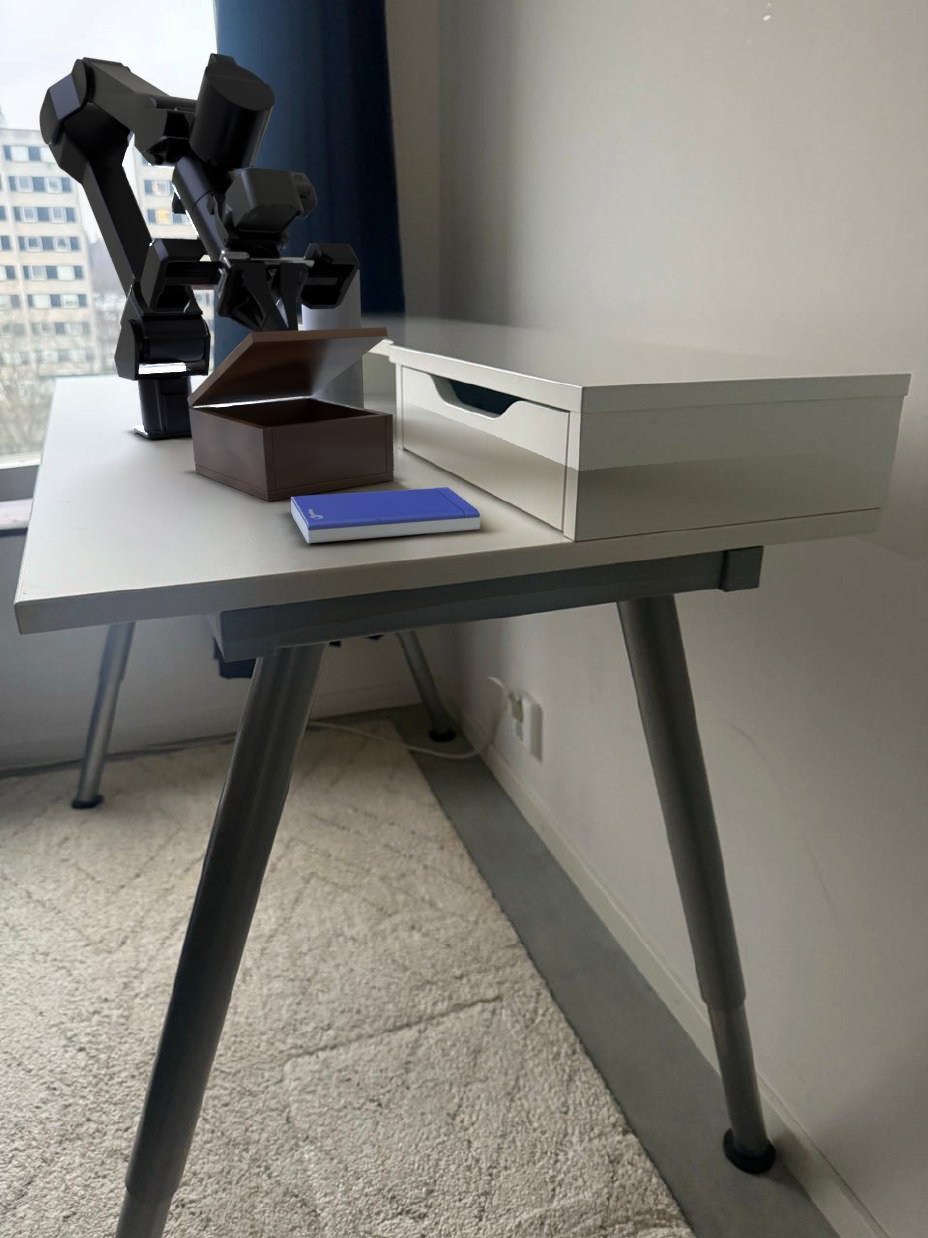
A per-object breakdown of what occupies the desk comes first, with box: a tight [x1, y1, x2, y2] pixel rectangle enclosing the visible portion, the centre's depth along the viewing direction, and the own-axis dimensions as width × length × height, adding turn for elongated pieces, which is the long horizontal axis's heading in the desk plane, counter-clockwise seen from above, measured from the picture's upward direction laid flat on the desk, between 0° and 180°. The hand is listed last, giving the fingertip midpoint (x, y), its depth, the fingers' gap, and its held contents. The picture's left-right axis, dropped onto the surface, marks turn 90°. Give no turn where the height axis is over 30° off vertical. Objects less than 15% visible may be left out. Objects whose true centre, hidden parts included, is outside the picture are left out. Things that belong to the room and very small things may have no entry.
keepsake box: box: [189, 396, 395, 502], centre depth 77 cm, size 14×13×6 cm
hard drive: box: [290, 486, 481, 544], centre depth 64 cm, size 2×8×12 cm
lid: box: [187, 326, 389, 408], centre depth 75 cm, size 14×13×1 cm
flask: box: [301, 268, 365, 408], centre depth 105 cm, size 15×6×20 cm, turn 19°
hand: (294, 351), depth 73 cm, fingers closed, pressing on lid
